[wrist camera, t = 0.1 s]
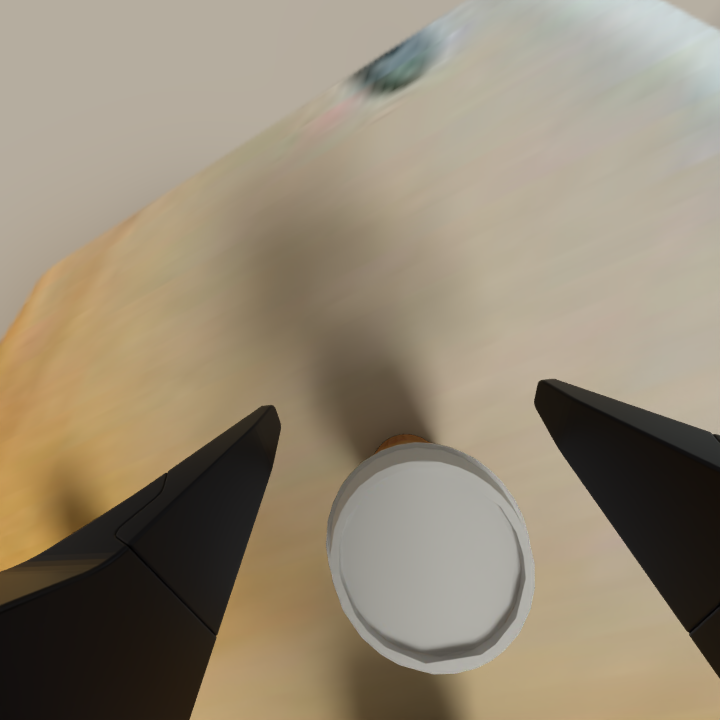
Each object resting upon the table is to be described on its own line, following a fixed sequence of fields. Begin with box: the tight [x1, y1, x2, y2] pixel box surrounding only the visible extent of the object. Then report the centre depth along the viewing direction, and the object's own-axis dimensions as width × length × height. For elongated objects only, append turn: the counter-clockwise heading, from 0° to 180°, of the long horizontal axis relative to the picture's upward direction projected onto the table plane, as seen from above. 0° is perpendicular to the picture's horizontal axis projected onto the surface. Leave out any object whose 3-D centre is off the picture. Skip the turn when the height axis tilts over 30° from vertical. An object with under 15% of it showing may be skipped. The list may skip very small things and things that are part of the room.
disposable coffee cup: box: [326, 434, 535, 674], centre depth 17 cm, size 10×10×12 cm
